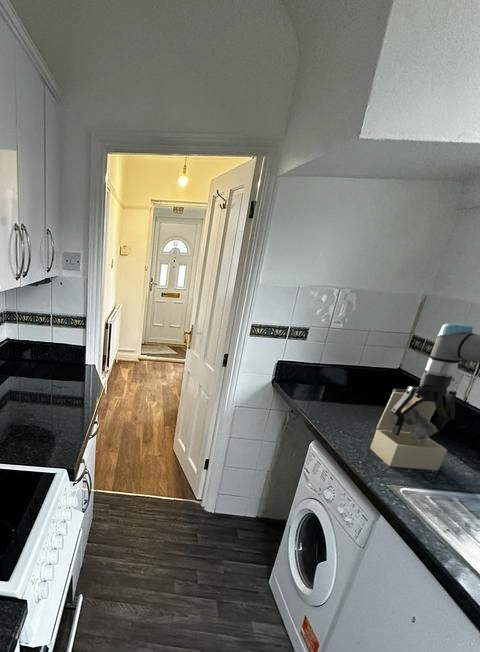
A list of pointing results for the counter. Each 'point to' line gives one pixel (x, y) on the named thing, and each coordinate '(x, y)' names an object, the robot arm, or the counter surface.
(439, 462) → the beige open box
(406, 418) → the egg carton
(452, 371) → the robot arm
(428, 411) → the box lid
